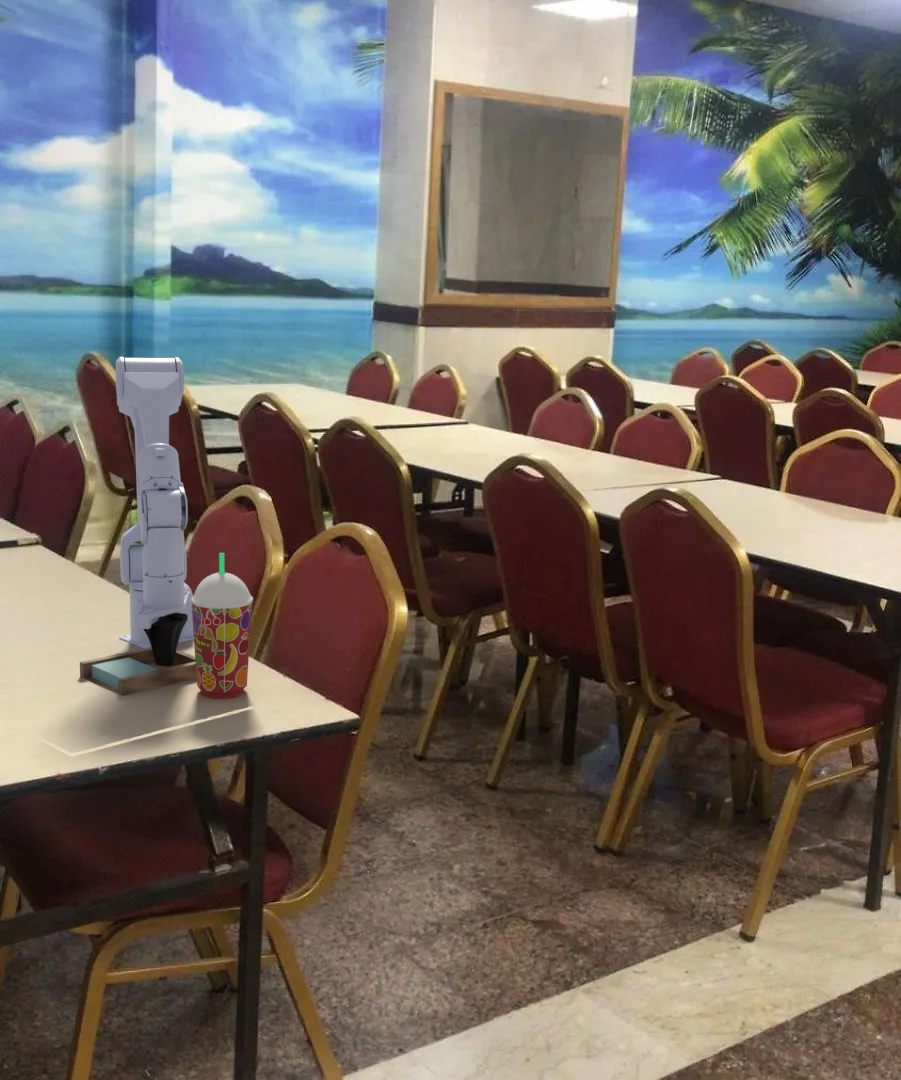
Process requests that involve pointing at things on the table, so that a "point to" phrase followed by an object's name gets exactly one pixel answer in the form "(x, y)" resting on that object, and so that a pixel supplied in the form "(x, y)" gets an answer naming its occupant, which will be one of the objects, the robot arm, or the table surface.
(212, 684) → the smoothie
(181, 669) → the walnut box
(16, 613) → the table surface
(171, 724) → the table surface
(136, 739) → the table surface
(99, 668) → the cover plate
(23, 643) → the table surface
